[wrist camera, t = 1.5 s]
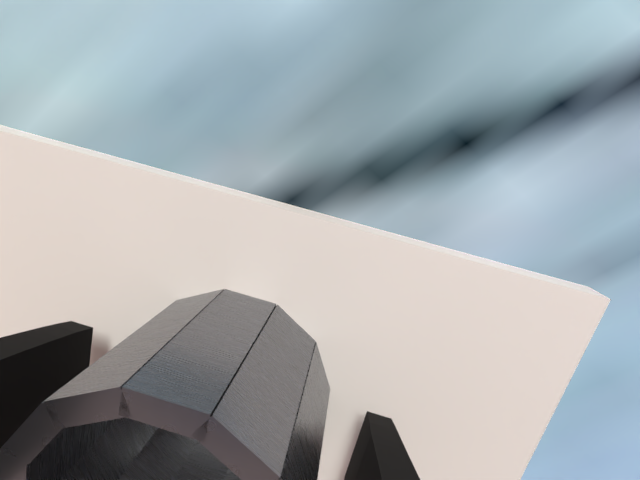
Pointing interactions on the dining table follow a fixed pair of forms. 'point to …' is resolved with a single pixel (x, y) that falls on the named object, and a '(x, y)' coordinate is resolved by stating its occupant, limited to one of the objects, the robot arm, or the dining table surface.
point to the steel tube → (186, 402)
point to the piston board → (300, 300)
